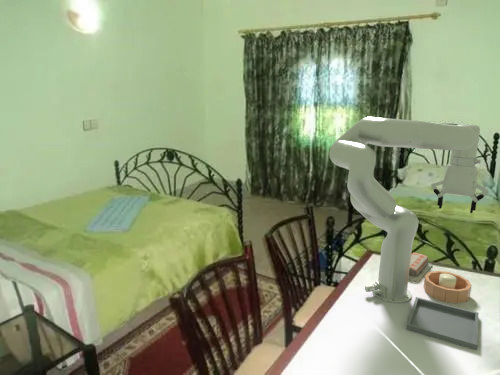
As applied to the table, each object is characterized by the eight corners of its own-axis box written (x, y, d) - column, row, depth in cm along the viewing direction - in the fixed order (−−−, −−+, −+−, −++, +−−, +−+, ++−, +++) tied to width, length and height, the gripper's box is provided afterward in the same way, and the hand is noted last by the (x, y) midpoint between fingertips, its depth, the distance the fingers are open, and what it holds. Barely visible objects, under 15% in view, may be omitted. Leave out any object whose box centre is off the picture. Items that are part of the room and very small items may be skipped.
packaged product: (408, 249, 160) (433, 255, 154) (407, 259, 162) (432, 266, 155) (392, 263, 147) (419, 271, 141) (390, 275, 148) (417, 283, 142)
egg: (445, 296, 131) (447, 281, 130) (434, 288, 136) (436, 274, 134) (457, 294, 132) (460, 279, 131) (446, 286, 137) (448, 272, 136)
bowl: (443, 306, 126) (445, 293, 125) (415, 286, 139) (416, 273, 138) (478, 301, 130) (480, 287, 128) (447, 281, 143) (449, 269, 141)
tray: (476, 352, 104) (477, 345, 104) (405, 331, 113) (406, 324, 113) (477, 319, 119) (478, 312, 119) (415, 302, 128) (416, 296, 128)
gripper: (492, 162, 129) (484, 211, 133) (435, 157, 137) (429, 203, 141) (492, 166, 122) (484, 217, 127) (433, 160, 131) (427, 208, 135)
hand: (455, 209), depth 134 cm, fingers open, 9 cm apart
